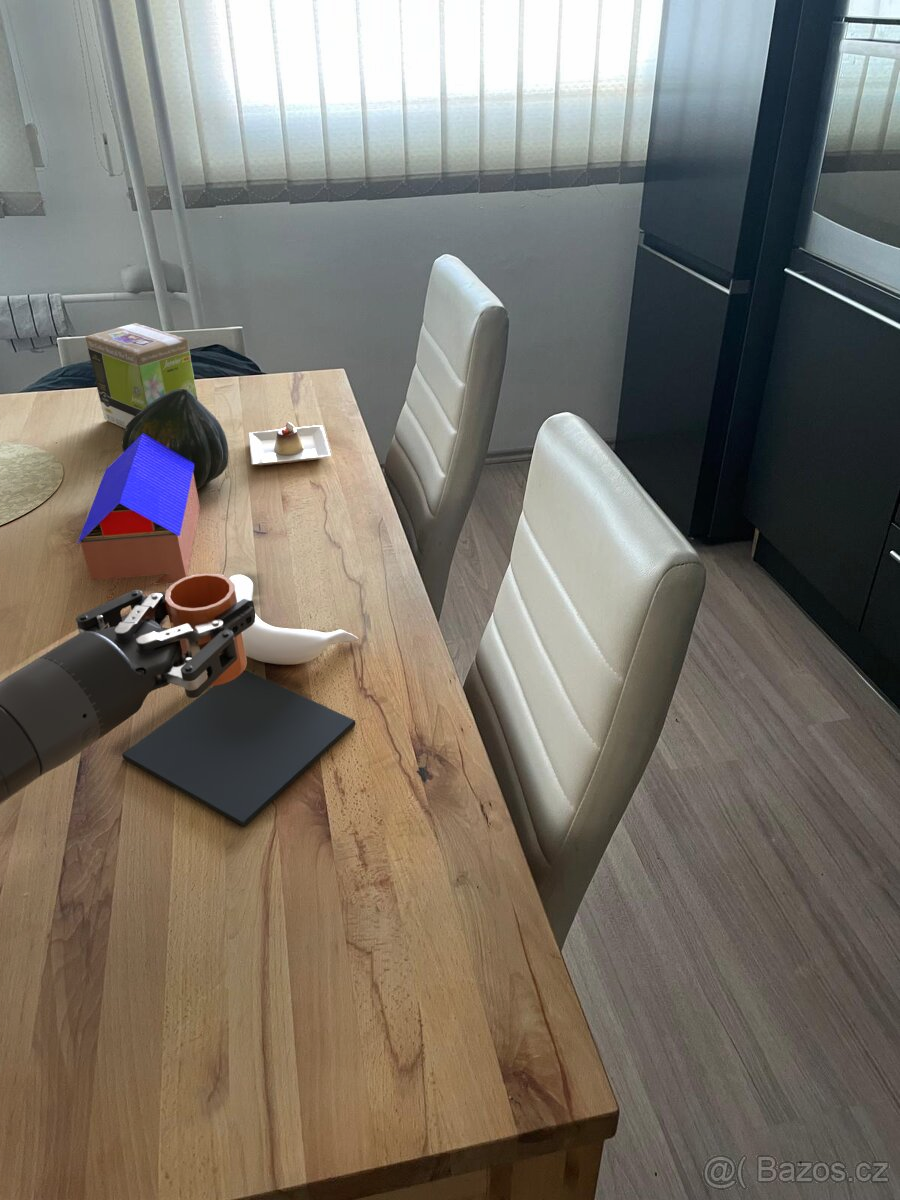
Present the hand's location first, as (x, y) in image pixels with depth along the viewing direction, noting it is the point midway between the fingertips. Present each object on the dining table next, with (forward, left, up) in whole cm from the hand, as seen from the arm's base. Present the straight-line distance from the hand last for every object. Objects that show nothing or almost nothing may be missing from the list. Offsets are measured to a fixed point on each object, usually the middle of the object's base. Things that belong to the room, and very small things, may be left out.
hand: (224, 597), depth 80 cm
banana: (-11, +17, -18) cm, 27 cm away
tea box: (-69, +49, -18) cm, 87 cm away
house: (-38, +21, -18) cm, 47 cm away
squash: (-48, +36, -18) cm, 63 cm away
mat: (-1, 0, -18) cm, 18 cm away
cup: (0, -2, -6) cm, 6 cm away
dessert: (-42, +53, -18) cm, 70 cm away
